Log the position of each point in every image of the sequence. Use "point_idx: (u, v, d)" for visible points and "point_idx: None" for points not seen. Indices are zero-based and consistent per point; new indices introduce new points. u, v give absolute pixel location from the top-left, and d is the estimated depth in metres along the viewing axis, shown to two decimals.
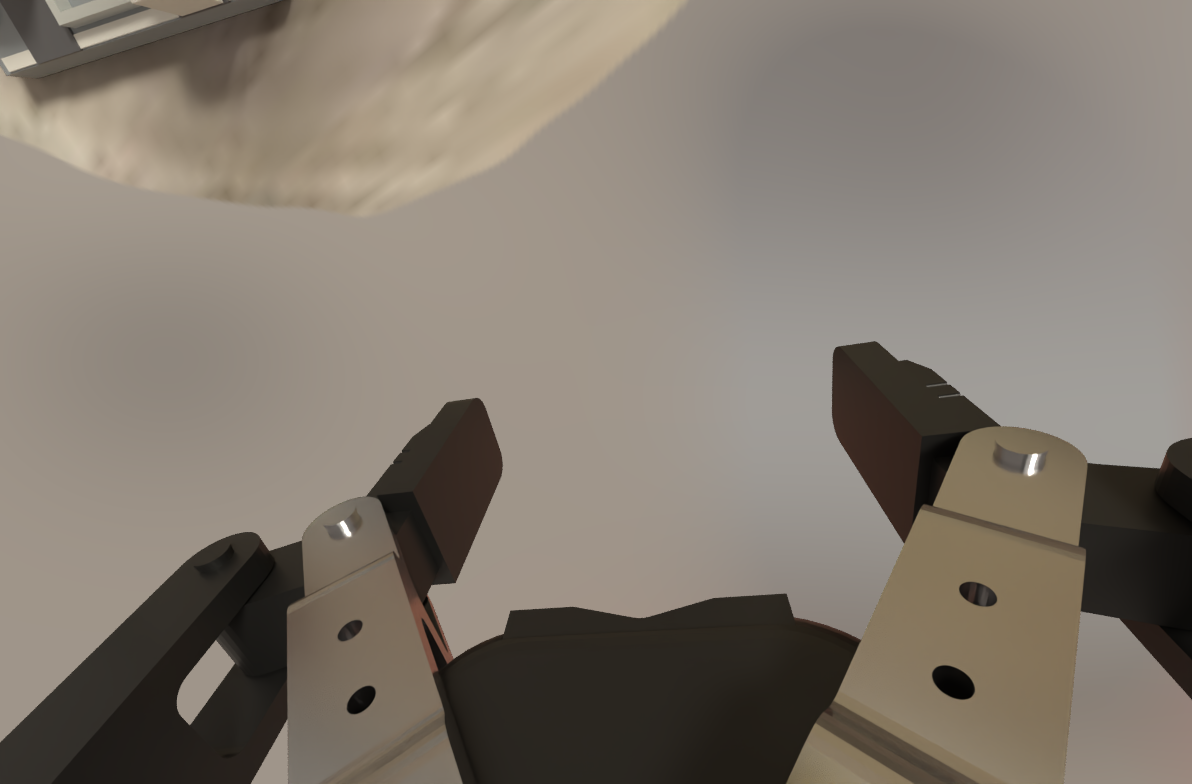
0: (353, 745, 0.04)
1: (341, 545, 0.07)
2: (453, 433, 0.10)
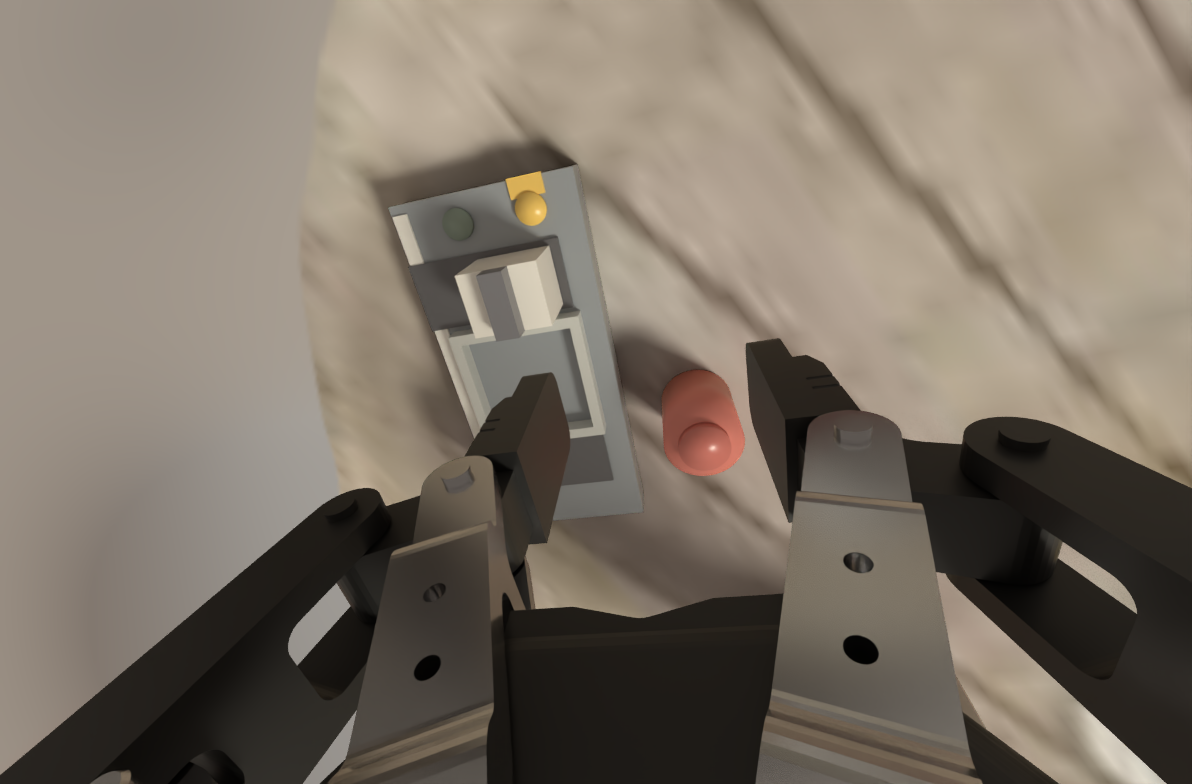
0: (411, 710, 0.04)
1: (464, 496, 0.08)
2: (538, 402, 0.10)
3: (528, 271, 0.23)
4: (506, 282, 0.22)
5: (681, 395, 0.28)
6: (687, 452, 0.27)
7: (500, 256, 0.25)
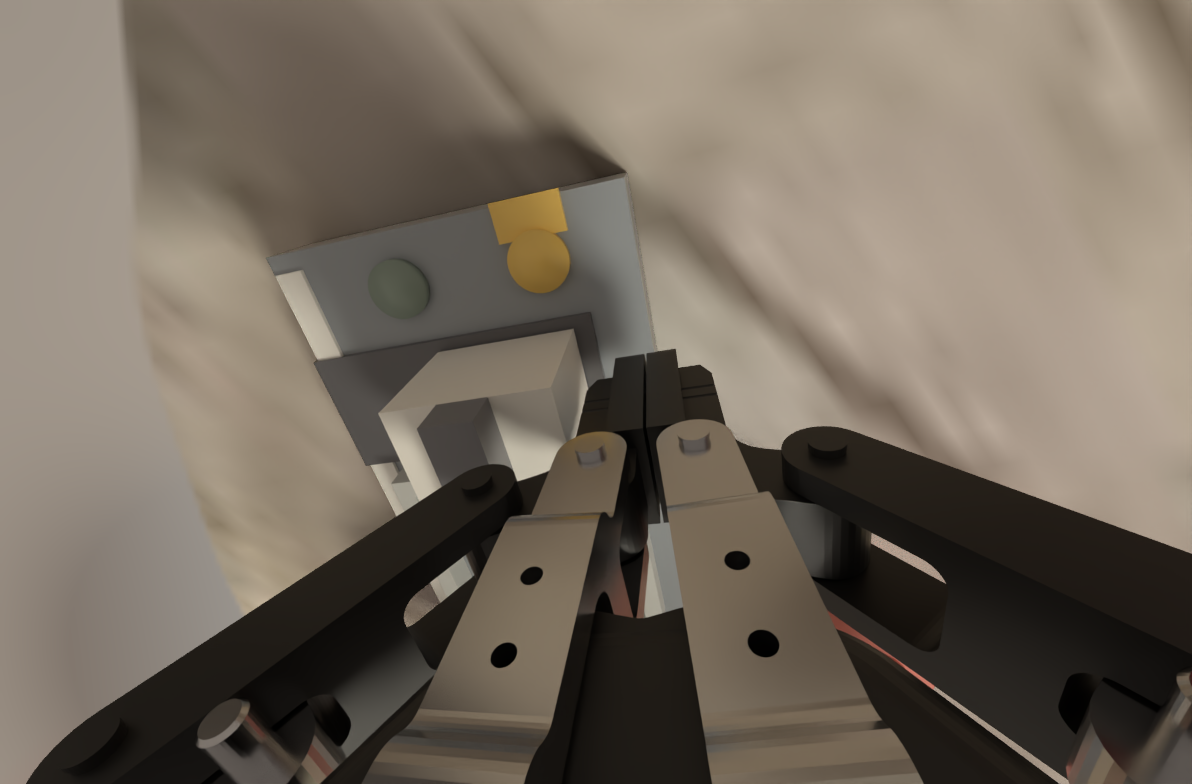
0: (476, 694, 0.04)
1: (607, 470, 0.07)
2: (643, 382, 0.10)
3: (535, 408, 0.10)
4: (487, 436, 0.10)
5: None
6: None
7: (480, 350, 0.13)
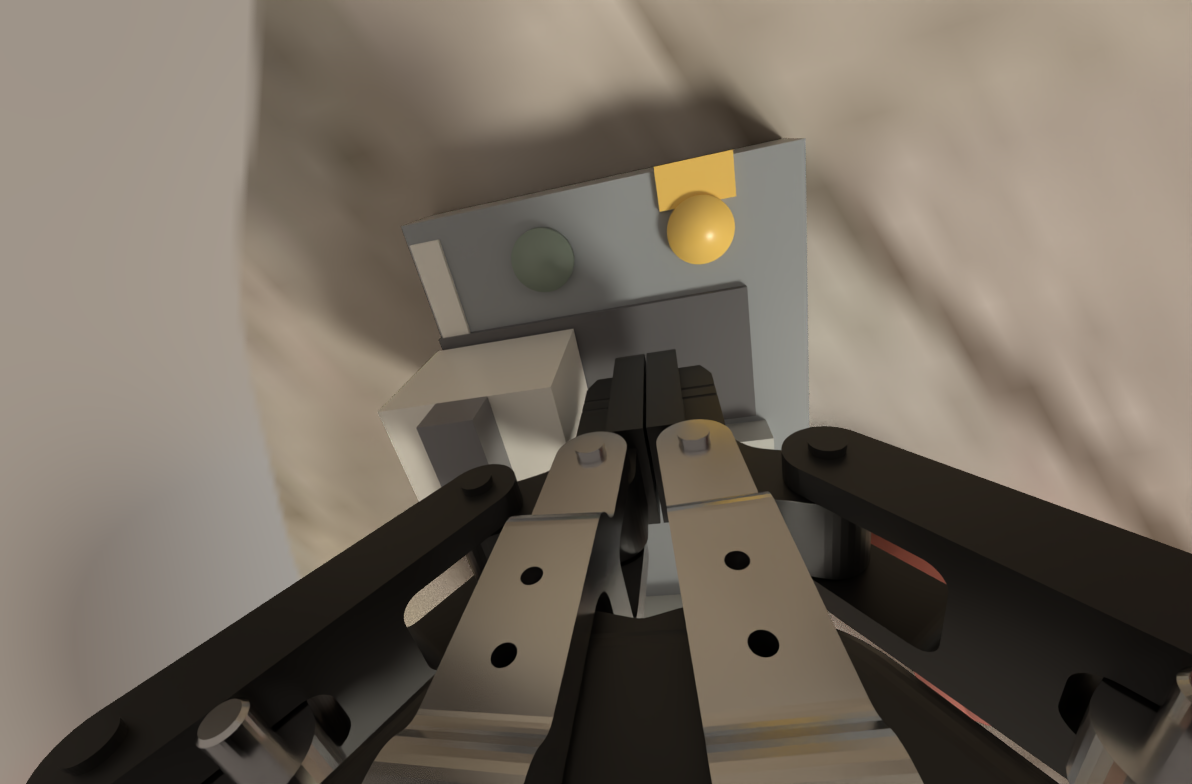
0: (476, 696, 0.04)
1: (607, 470, 0.07)
2: (643, 382, 0.10)
3: (535, 407, 0.10)
4: (487, 435, 0.10)
5: None
6: None
7: (480, 350, 0.13)
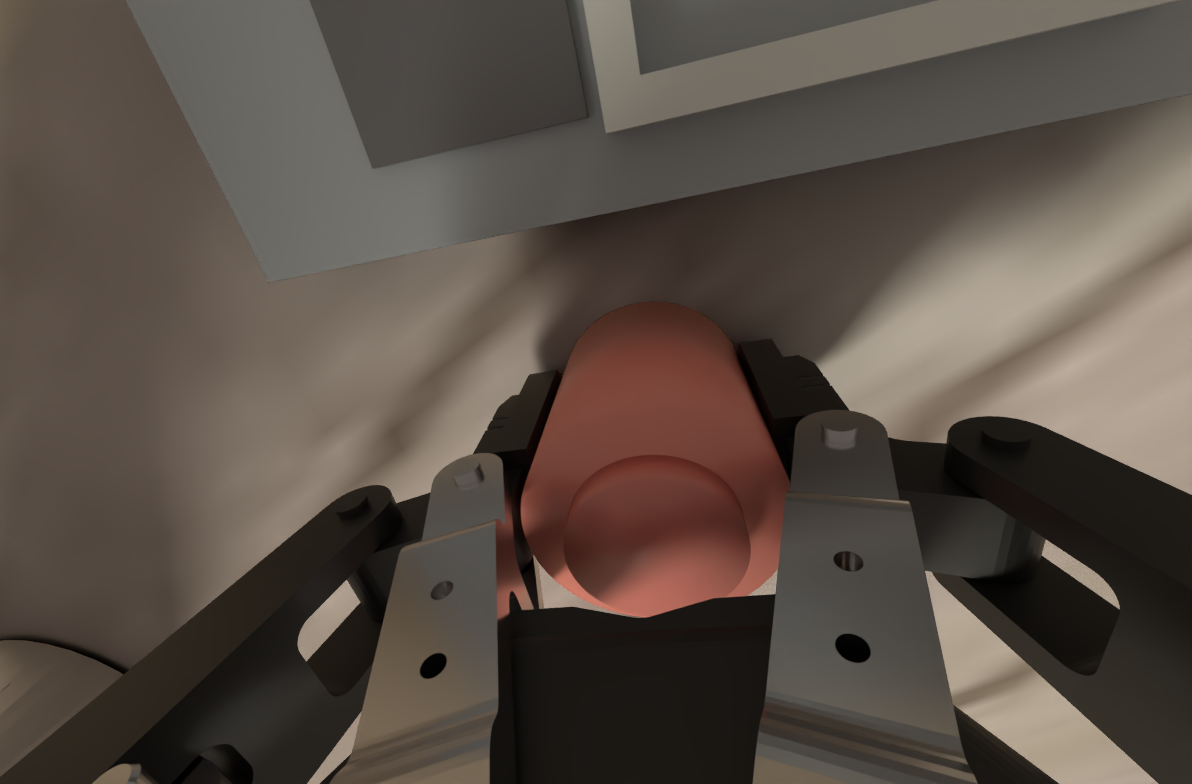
0: (415, 709, 0.04)
1: (475, 493, 0.08)
2: (546, 400, 0.10)
3: None
4: None
5: (754, 399, 0.09)
6: (642, 506, 0.07)
7: None
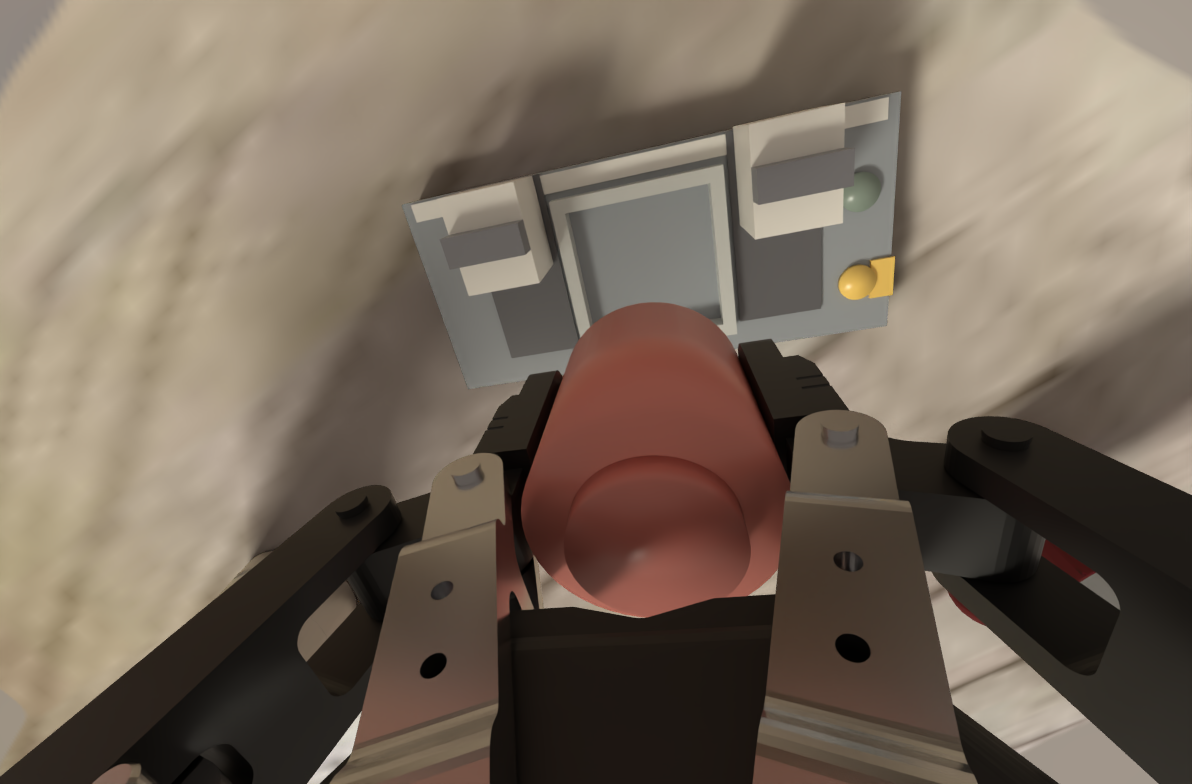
0: (416, 709, 0.04)
1: (475, 493, 0.08)
2: (546, 400, 0.10)
3: (830, 212, 0.18)
4: (832, 188, 0.17)
5: (754, 400, 0.09)
6: (642, 506, 0.07)
7: None
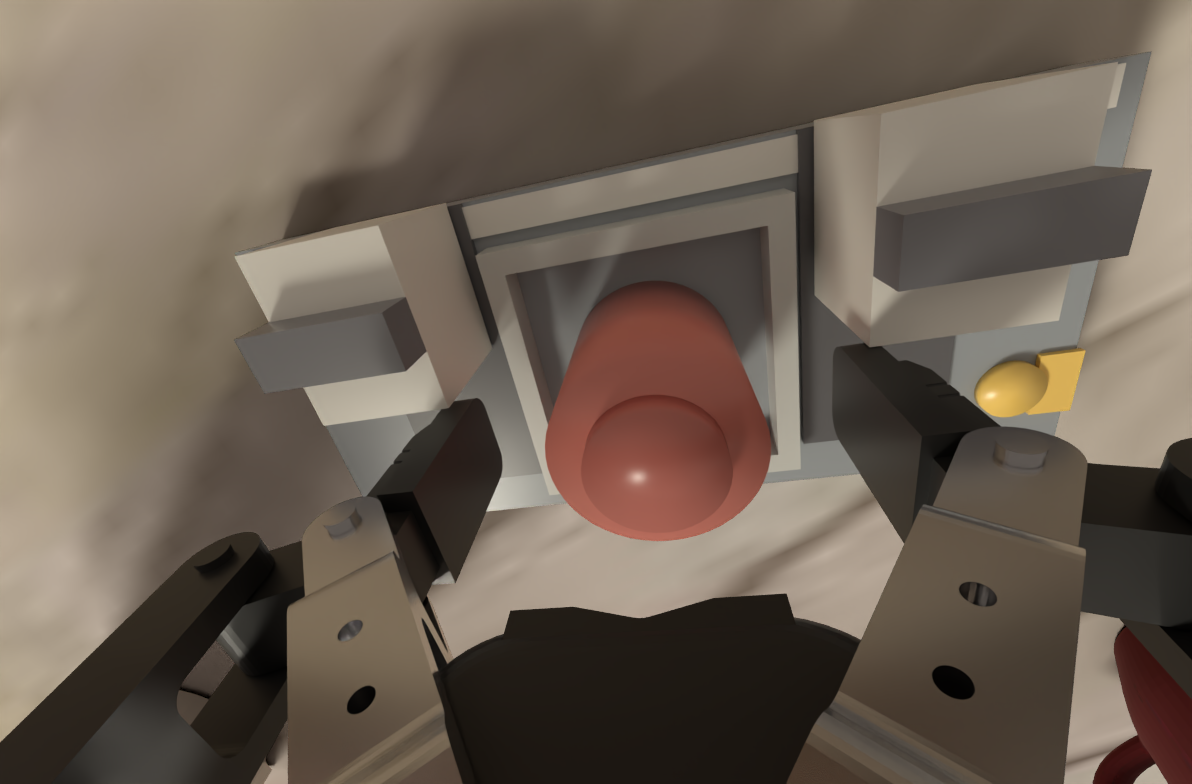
0: (352, 744, 0.04)
1: (341, 545, 0.07)
2: (453, 433, 0.10)
3: (1036, 300, 0.09)
4: (1064, 257, 0.08)
5: (739, 358, 0.11)
6: (645, 433, 0.09)
7: None
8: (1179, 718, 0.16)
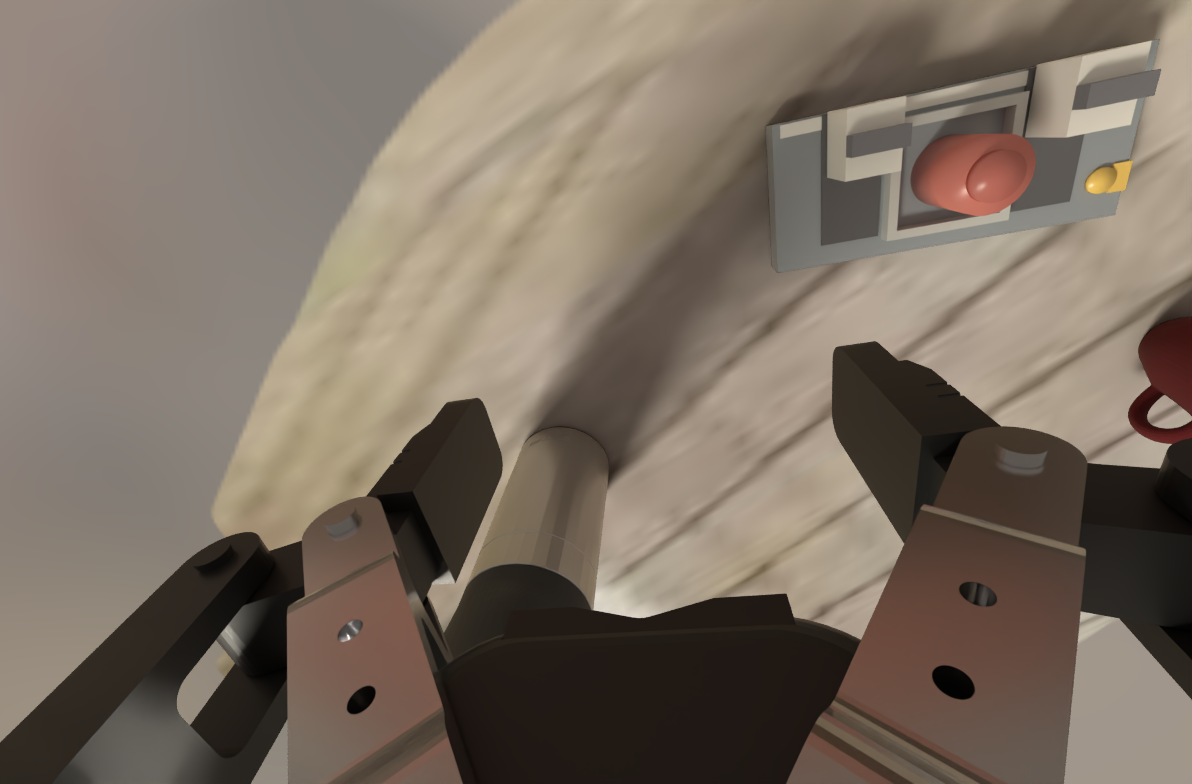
0: (353, 744, 0.04)
1: (340, 545, 0.07)
2: (453, 433, 0.10)
3: (1124, 117, 0.28)
4: (1135, 98, 0.27)
5: None
6: (1000, 159, 0.27)
7: None
8: (1171, 351, 0.35)
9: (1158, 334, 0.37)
